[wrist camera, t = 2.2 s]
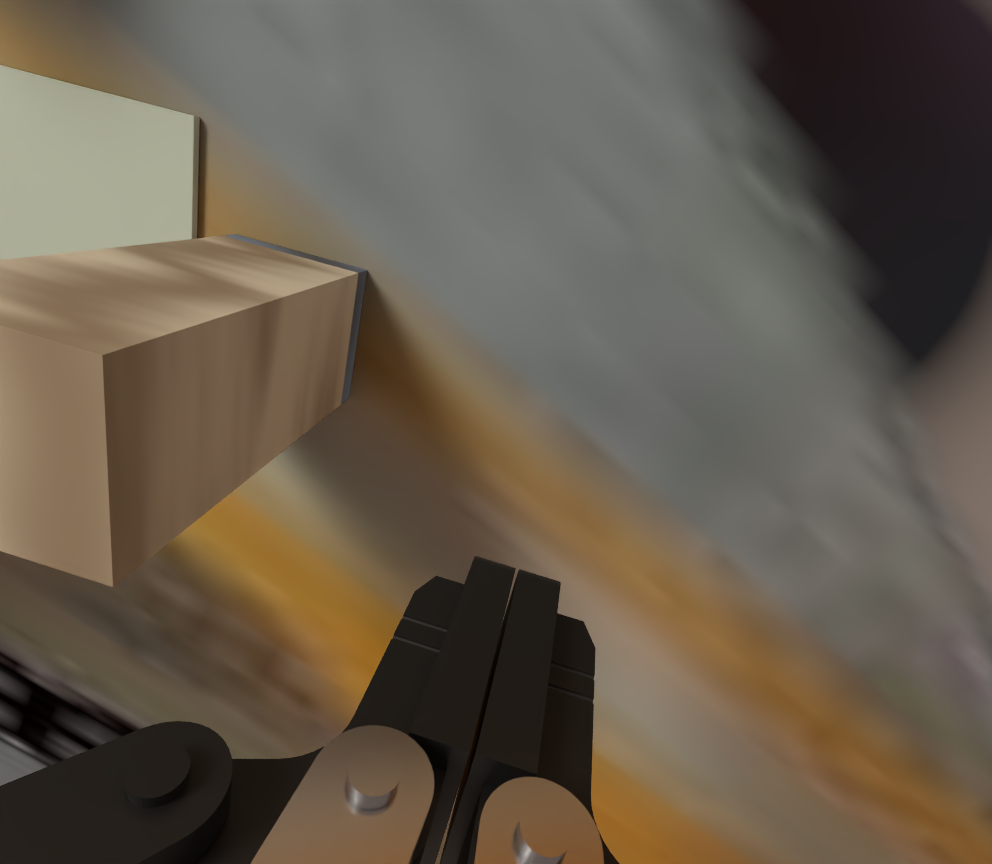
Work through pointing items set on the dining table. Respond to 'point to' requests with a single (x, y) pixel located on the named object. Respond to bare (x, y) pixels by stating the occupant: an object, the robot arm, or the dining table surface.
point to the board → (91, 169)
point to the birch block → (157, 387)
